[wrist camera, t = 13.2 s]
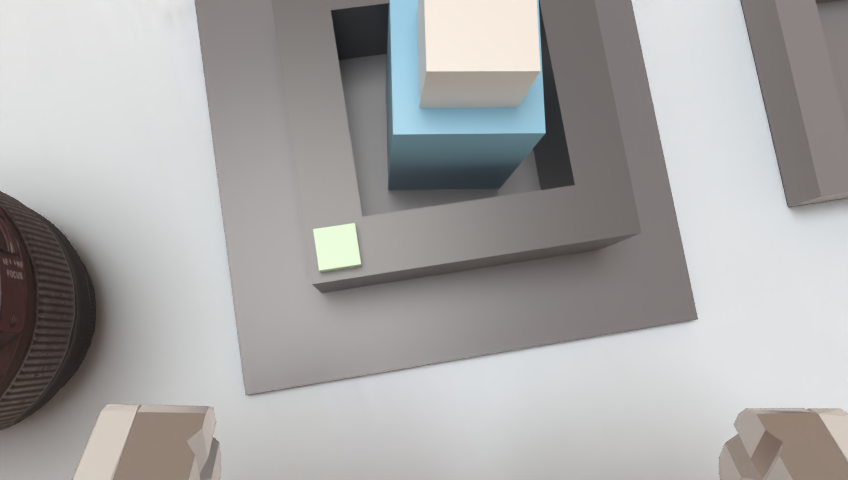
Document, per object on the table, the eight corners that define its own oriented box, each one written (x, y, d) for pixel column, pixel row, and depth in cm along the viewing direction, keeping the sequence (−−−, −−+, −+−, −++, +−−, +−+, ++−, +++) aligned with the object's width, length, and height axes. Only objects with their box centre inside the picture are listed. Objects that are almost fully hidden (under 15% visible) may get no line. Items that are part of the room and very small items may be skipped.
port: (692, 319, 26) (767, 314, 21) (247, 394, 25) (215, 408, 20) (607, -89, 28) (657, -181, 23) (191, -42, 27) (150, -128, 22)
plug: (499, 188, 26) (572, 100, 16) (388, 190, 26) (396, 101, 16) (495, 81, 26) (562, -64, 17) (385, 81, 26) (392, -66, 17)
